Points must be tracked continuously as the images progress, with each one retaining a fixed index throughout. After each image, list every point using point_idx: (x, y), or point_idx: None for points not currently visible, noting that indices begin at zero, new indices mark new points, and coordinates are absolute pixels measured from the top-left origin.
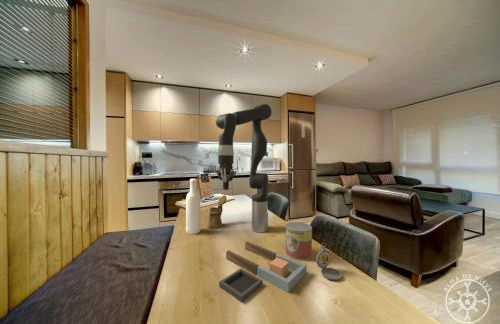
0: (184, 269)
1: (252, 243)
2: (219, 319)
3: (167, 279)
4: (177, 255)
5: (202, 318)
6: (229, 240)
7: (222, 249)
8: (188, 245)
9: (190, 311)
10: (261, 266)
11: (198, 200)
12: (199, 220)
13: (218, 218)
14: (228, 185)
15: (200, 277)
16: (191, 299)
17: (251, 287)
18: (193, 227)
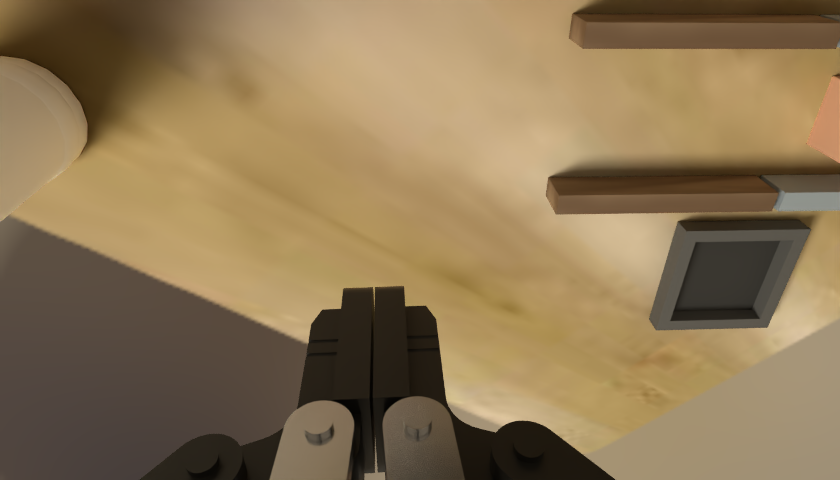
0: (459, 347)
1: (638, 22)
2: (728, 378)
3: (467, 400)
4: None
5: (686, 399)
6: (383, 17)
7: (451, 144)
8: (256, 246)
9: (642, 407)
10: (797, 194)
11: None
12: (10, 119)
13: None
14: (440, 358)
15: (553, 333)
16: (611, 390)
17: (782, 281)
18: (61, 162)
